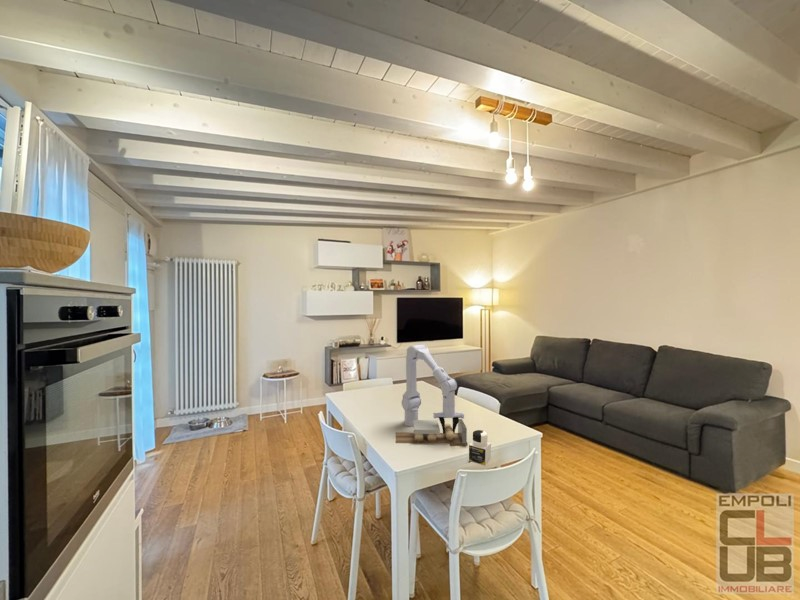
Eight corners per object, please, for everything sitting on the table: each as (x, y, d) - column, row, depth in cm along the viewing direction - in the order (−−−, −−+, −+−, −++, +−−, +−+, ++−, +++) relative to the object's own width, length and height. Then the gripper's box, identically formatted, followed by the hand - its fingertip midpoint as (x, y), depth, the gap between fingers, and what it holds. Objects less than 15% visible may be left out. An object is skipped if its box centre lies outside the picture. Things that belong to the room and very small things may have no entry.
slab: (413, 424, 168) (413, 420, 168) (437, 424, 168) (437, 420, 168) (414, 433, 156) (414, 429, 156) (439, 434, 156) (439, 429, 156)
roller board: (395, 434, 168) (396, 418, 168) (462, 435, 168) (463, 419, 168) (395, 445, 156) (395, 427, 156) (467, 445, 156) (467, 428, 156)
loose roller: (442, 431, 167) (443, 423, 167) (450, 431, 167) (451, 423, 167) (445, 439, 157) (446, 430, 157) (453, 440, 157) (454, 431, 157)
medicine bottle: (468, 461, 141) (468, 432, 141) (475, 454, 147) (475, 427, 147) (485, 466, 137) (485, 436, 137) (491, 459, 143) (491, 431, 143)
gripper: (434, 407, 158) (434, 436, 158) (465, 407, 158) (465, 436, 158) (433, 402, 165) (432, 430, 165) (462, 402, 165) (462, 430, 165)
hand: (448, 432), depth 162 cm, fingers closed on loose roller, 4 cm apart
